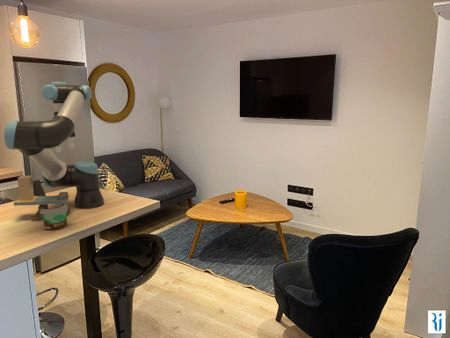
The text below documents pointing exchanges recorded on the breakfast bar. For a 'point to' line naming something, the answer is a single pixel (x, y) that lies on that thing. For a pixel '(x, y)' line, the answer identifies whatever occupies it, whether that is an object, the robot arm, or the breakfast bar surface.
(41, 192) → the phone stand
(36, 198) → the beam
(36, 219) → the beam stand
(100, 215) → the breakfast bar surface
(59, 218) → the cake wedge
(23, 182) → the wooden block
